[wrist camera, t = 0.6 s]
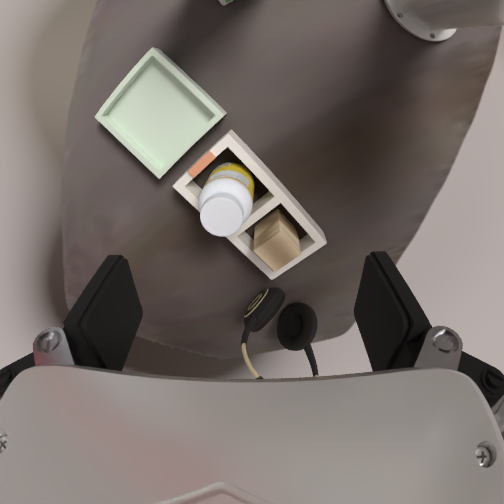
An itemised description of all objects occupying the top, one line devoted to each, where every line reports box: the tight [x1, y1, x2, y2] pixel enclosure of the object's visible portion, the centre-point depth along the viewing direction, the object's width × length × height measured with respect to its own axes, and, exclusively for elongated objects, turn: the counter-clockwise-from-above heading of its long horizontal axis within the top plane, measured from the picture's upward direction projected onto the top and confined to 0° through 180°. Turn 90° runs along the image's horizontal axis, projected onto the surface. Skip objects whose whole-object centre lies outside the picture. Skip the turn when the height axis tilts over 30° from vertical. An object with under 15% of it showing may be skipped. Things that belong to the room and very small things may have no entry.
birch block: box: [253, 209, 301, 272], centre depth 42 cm, size 4×4×7 cm
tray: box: [95, 47, 227, 179], centre depth 35 cm, size 13×14×2 cm
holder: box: [173, 129, 327, 280], centre depth 41 cm, size 10×21×4 cm, turn 42°
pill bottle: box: [198, 162, 254, 236], centre depth 36 cm, size 6×6×12 cm
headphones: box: [241, 288, 318, 379], centre depth 45 cm, size 9×15×20 cm, turn 54°
